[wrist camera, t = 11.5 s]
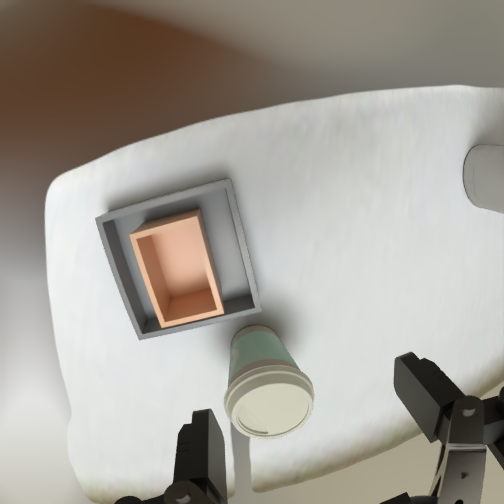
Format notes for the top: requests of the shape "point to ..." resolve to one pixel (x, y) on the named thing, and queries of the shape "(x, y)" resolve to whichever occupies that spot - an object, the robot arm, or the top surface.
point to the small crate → (178, 267)
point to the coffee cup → (265, 386)
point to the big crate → (221, 243)
